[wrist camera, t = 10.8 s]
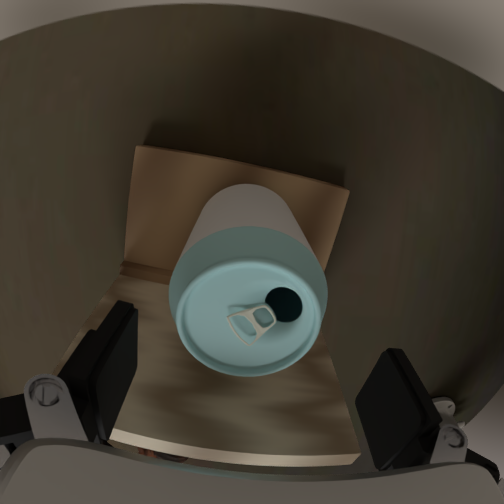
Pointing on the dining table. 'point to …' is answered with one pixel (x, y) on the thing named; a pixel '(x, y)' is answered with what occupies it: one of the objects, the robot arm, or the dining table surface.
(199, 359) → the can
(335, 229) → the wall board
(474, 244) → the dining table surface
